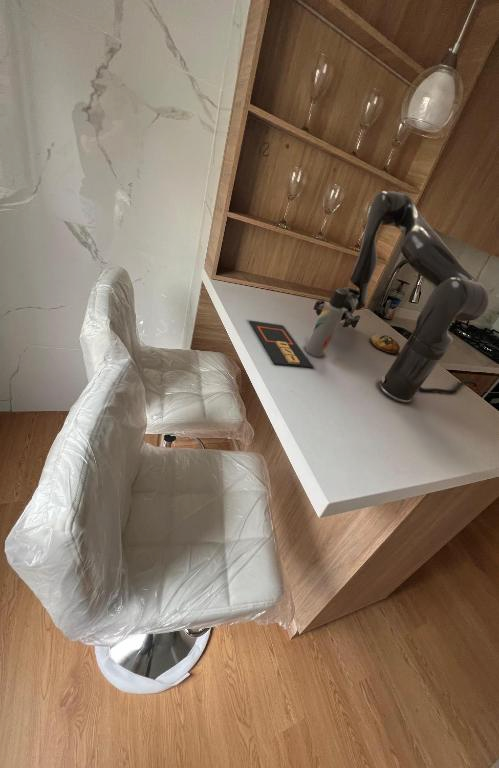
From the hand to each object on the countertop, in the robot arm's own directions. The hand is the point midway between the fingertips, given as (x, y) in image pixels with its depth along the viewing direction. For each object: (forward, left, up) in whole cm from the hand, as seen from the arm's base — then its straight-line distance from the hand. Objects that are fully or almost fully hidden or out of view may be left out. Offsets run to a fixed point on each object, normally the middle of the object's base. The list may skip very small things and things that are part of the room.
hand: (331, 318), depth 97 cm
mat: (+13, -6, -11) cm, 17 cm away
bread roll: (-33, +6, -11) cm, 36 cm away
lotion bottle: (+4, +1, -11) cm, 11 cm away
